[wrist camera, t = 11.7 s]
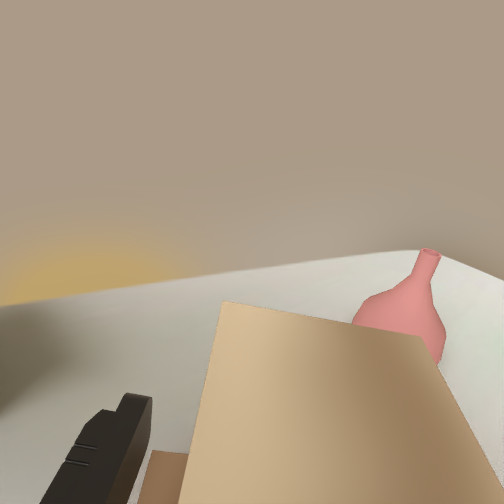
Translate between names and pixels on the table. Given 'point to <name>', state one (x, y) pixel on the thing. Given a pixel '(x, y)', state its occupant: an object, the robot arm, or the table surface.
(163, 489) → the base block
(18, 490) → the table surface
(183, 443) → the table surface
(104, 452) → the robot arm
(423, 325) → the pink vase
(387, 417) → the oak post
